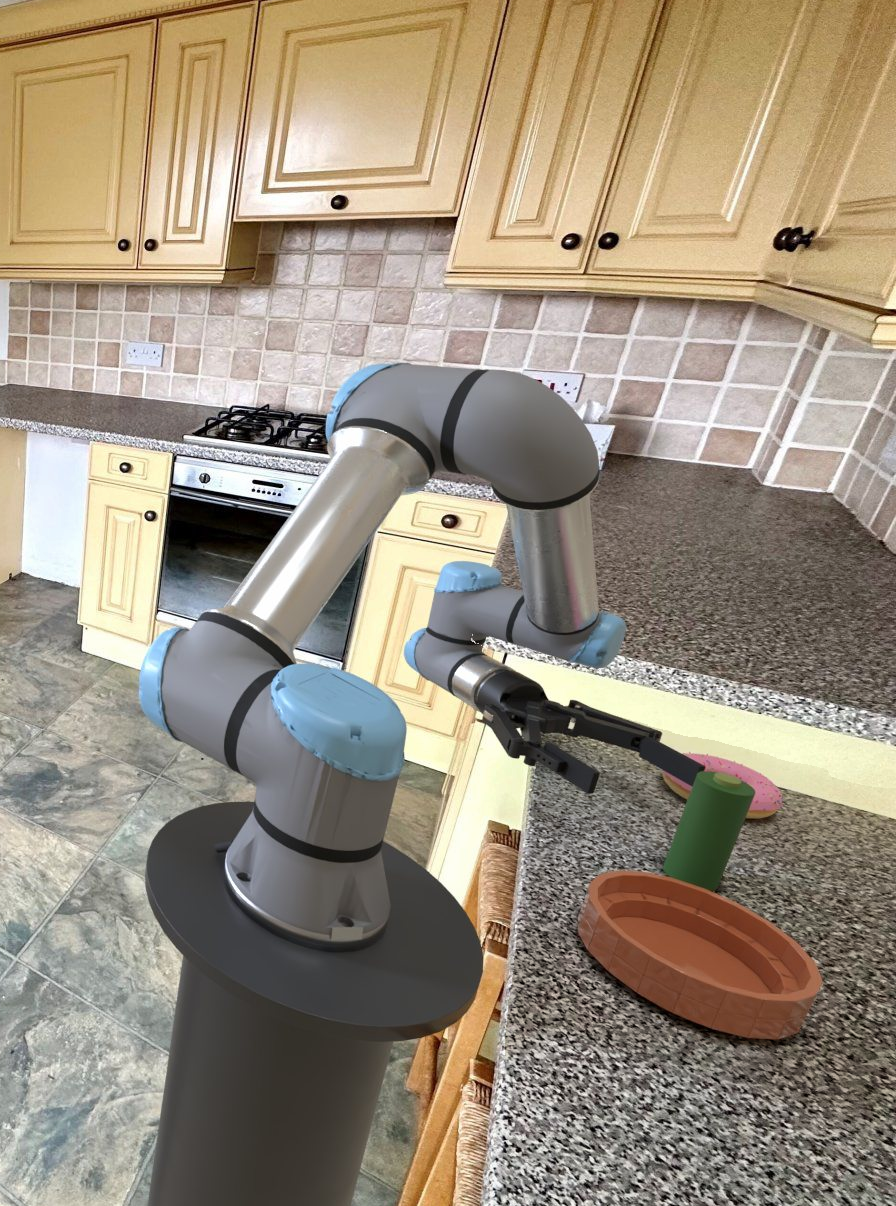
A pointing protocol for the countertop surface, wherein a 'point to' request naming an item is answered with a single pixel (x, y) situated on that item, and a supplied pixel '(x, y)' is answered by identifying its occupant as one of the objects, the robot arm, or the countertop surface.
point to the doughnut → (766, 790)
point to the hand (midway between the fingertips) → (647, 780)
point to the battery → (708, 829)
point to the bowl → (698, 954)
